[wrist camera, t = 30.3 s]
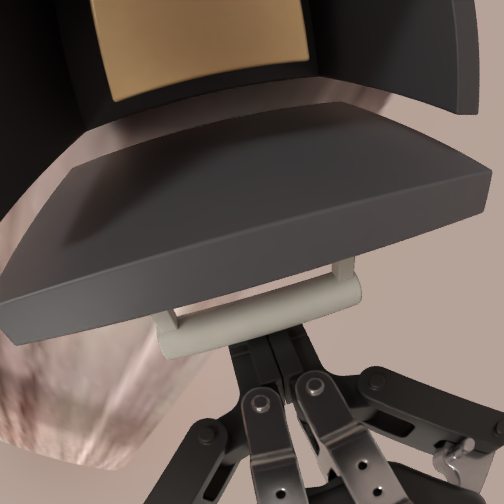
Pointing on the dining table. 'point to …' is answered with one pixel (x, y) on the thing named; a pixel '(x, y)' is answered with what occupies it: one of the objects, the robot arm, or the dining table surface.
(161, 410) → the dining table surface
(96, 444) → the dining table surface
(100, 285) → the drawer
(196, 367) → the dining table surface
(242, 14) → the block
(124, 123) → the dining table surface
